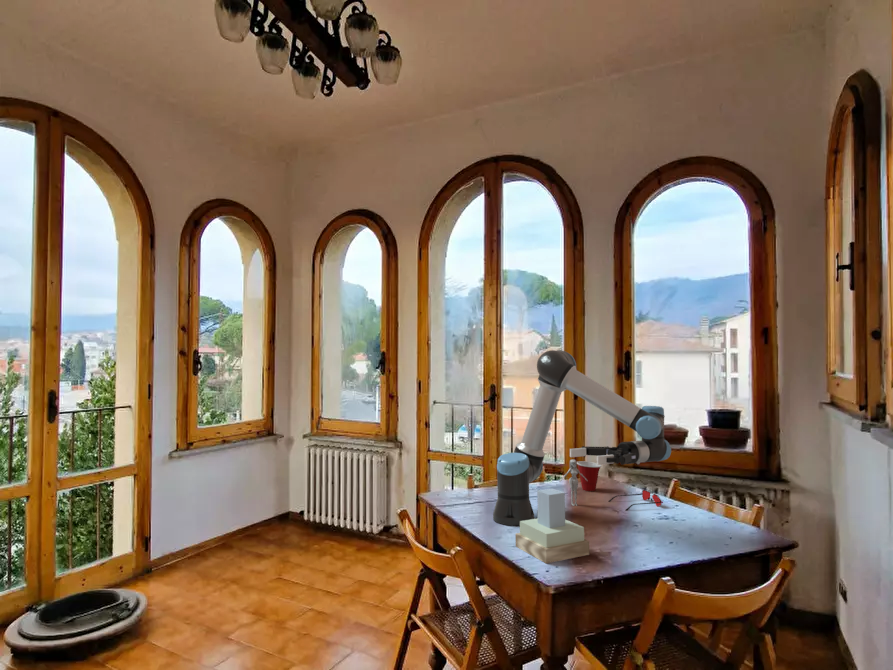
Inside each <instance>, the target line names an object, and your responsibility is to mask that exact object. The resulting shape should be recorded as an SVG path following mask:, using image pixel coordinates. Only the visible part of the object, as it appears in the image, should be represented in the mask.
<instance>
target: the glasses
mask: <svg viewBox="0 0 893 670" xmlns="http://www.w3.org/2000/svg"><path fill="white" fill-rule="evenodd" d="M651 494H652V495H651ZM628 496H631V497H632V496H642V497H641V498H642V500H643V501H647V500H648V501H649V500H650V501H651V502H641V503H633V504H631V505H630V506H628V507H627V508H626V509H625V511H628V510H630V508H632V507H633V506H635V505H648V504H649V505H650V504H651V505H652V504H655V506H656V507H660V506H661V505H662V504H663V503H664V502H663V501H662V499H661V497H660V496H659V495H657V494H656V493H653V492H652V491H651V492H650V490H646V489H642V491H641V493H635V494H633V493H632V494H621V495H615V496H613V497H611V498H610V499H609V500H608V502H610V503H611V501H613V499H615V498H617V497H628Z"/></svg>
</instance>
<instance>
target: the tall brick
mask: <svg viewBox="0 0 893 670" xmlns="http://www.w3.org/2000/svg"><path fill="white" fill-rule="evenodd" d="M536 493H537V495H536V496H537V500H536V501H537V518H538V523H539V524H541V525H543V526H545V527H548V528H554V527H560V526H565V520H566V493H565V492H564V491H561V490H558V489H555V488H548V489H540V490H536Z"/></svg>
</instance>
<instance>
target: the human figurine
mask: <svg viewBox="0 0 893 670" xmlns="http://www.w3.org/2000/svg"><path fill="white" fill-rule="evenodd" d="M568 474H571V477H570V478H569V479H568V483H569V486H570V490H571V492H570V500H571V503H570V504H571V506H573V507H574V506H576V507H577V506H578V504H577V503H578V502H577V498H578V497H577V495H578V487H579V481H578V480H579V479H578V477H577V475H578V474H579V476H580V475H581V476H582V477H584V476H583V474H581V473H580V472H579V469H578V467H577V460H576V459H570V460H569V469H568V471H567V472H566V473H565V474H564V475H563V477H561V478H560V480H559V482H562V481H563V479H564V478H565V477H567V475H568ZM584 478H585V477H584ZM585 479H586V478H585ZM586 480H587V479H586ZM587 481H588V480H587Z"/></svg>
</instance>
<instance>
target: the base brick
mask: <svg viewBox="0 0 893 670" xmlns="http://www.w3.org/2000/svg"><path fill="white" fill-rule="evenodd" d="M515 547H516V548H517V549H519V550H521V551H523V552H525V553H526V554H529V555H530V556H532V557H533V558H536V559H537V560H539V561H541V562H543V563H545V564H550V563H551V564H552V563H556V562H560V561H564V560H565V561H566V560H570V559H574V558H578V557H579V558H580V557H584V556H589V555H590V541H589V540H588V539H585V538H584V541H580V542H575V543H570V544H565V545H560V546H555V547H549V548H546V547H544V546H542V545H540V544H538V543H536V542H534V541H532V540H530V539H528V538H527V537H525V536H523V535H521V534H520V532H518V533H515Z"/></svg>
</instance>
